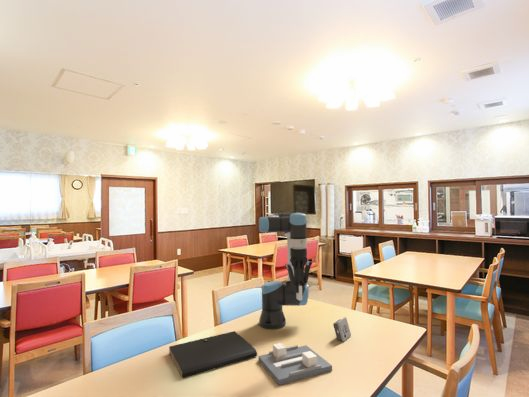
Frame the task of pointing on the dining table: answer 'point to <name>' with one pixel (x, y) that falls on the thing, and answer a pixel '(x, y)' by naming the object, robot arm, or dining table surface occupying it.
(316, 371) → the switch panel
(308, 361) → the outer tab
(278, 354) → the inner tab
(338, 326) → the electrical switch
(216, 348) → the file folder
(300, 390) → the dining table surface
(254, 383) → the dining table surface
